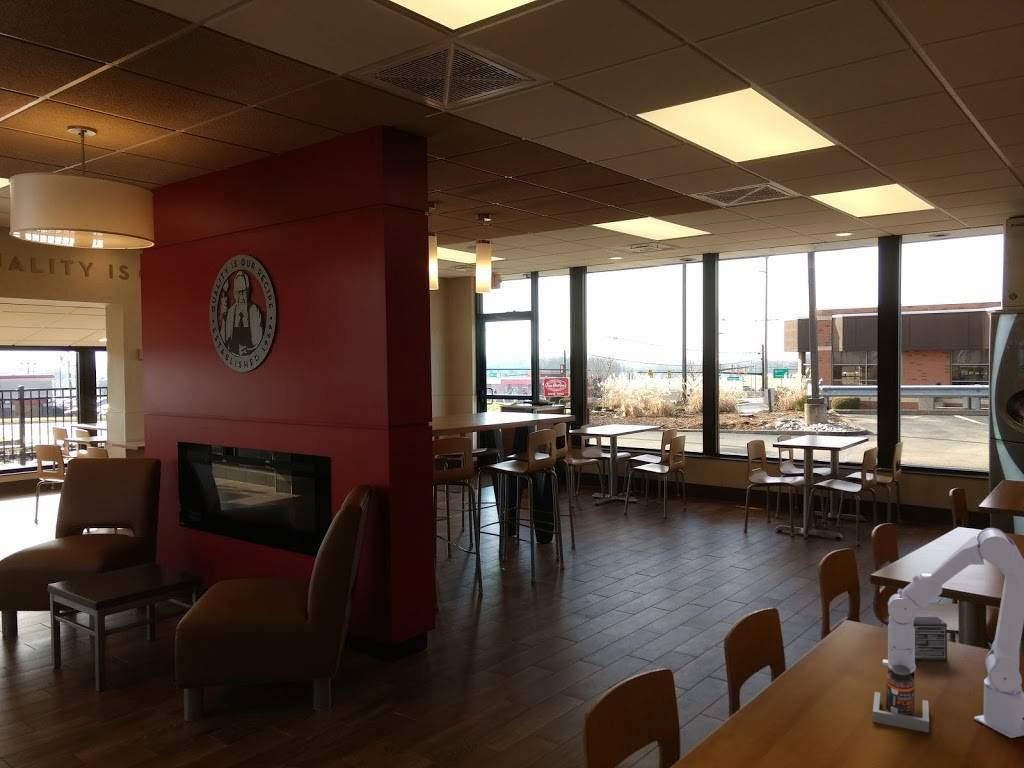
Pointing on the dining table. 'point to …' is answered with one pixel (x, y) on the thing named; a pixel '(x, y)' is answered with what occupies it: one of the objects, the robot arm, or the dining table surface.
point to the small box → (930, 639)
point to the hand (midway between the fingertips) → (901, 701)
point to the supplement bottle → (900, 691)
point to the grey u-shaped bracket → (901, 717)
